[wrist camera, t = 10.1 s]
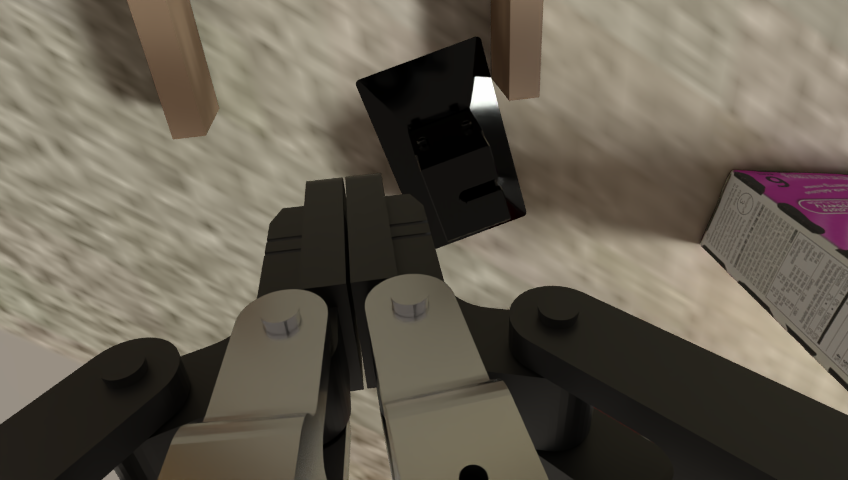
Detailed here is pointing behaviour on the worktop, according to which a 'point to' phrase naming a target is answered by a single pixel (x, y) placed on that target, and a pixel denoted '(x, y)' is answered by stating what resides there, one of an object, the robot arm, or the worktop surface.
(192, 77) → the walnut lane
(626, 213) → the worktop surface
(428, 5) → the worktop surface
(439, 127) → the black block
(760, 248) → the candy bar box
